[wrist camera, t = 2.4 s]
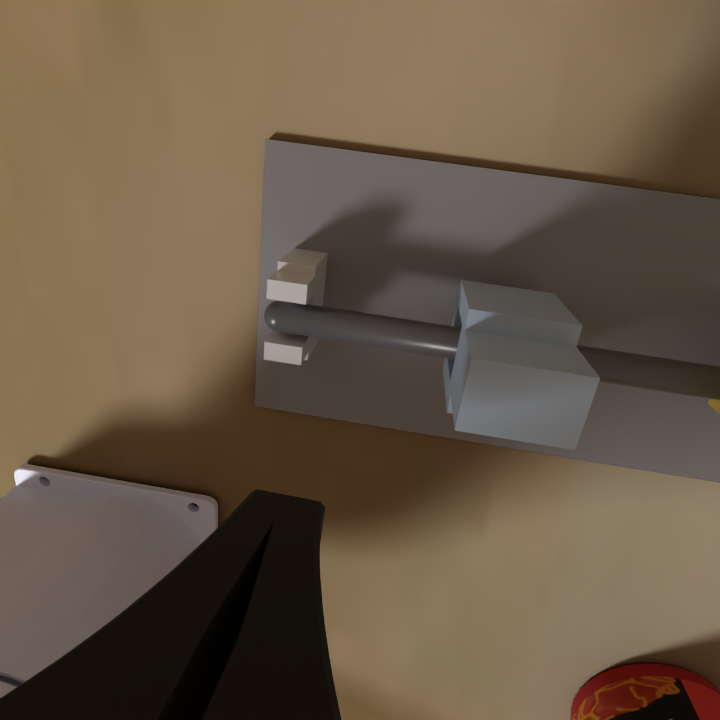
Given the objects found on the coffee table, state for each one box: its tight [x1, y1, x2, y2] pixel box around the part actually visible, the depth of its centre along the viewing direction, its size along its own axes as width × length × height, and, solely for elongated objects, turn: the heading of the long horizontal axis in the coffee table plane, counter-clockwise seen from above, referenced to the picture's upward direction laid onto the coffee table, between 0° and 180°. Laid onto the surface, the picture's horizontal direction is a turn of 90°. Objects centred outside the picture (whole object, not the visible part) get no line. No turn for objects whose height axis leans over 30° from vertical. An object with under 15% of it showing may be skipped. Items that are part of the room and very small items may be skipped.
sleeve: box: [443, 280, 600, 450], centre depth 15 cm, size 3×3×5 cm
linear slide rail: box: [254, 139, 720, 483], centre depth 16 cm, size 21×10×4 cm, turn 83°
